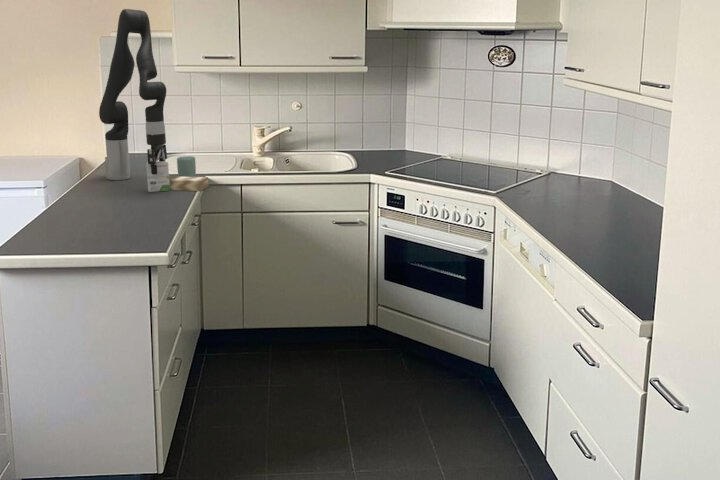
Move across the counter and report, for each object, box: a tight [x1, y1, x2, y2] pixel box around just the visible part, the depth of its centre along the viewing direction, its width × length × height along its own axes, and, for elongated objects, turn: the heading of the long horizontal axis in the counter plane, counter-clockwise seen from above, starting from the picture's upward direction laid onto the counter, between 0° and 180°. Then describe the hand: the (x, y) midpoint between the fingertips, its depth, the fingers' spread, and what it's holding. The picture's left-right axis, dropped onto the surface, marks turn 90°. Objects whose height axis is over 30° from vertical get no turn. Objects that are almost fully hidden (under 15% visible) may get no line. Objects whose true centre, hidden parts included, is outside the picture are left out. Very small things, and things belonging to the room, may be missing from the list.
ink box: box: [145, 160, 171, 193], centre depth 347 cm, size 8×5×12 cm, turn 106°
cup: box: [176, 155, 197, 177], centre depth 368 cm, size 8×8×10 cm
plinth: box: [169, 176, 210, 192], centre depth 352 cm, size 13×9×4 cm
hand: (158, 172), depth 347 cm, fingers open, 8 cm apart
